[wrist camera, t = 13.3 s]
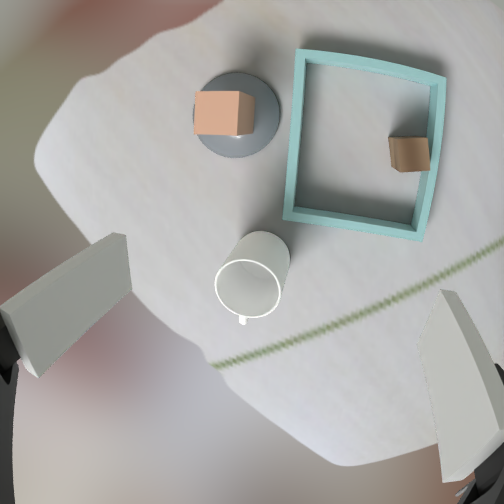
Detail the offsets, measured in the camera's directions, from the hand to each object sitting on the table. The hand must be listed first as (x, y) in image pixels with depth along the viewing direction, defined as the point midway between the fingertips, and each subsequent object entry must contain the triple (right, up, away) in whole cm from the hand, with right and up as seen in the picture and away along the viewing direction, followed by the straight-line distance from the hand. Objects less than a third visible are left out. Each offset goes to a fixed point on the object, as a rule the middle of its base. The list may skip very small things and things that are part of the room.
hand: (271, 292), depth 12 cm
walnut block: (+19, +15, +23) cm, 34 cm away
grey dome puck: (-3, +20, +26) cm, 33 cm away
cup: (+1, -1, +35) cm, 35 cm away
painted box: (-3, +20, +26) cm, 33 cm away
